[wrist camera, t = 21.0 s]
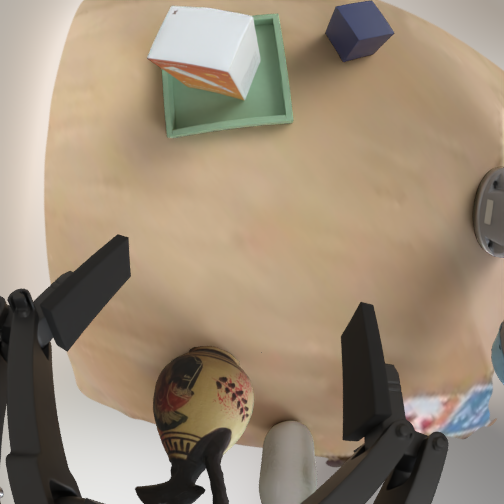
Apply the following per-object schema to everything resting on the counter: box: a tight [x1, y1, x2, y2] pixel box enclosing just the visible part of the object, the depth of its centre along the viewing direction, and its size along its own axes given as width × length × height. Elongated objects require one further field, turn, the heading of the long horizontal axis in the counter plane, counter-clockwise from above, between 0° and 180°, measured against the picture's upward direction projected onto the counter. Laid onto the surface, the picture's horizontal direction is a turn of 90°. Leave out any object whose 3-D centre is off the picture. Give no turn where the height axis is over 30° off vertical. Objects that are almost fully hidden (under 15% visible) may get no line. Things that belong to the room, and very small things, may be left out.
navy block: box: [325, 1, 394, 62], centre depth 23 cm, size 5×5×8 cm
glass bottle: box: [259, 421, 317, 504], centre depth 37 cm, size 10×10×28 cm
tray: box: [162, 14, 293, 138], centre depth 29 cm, size 16×16×2 cm
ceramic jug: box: [135, 346, 262, 504], centre depth 31 cm, size 17×15×30 cm
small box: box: [147, 6, 261, 100], centre depth 23 cm, size 8×6×13 cm
